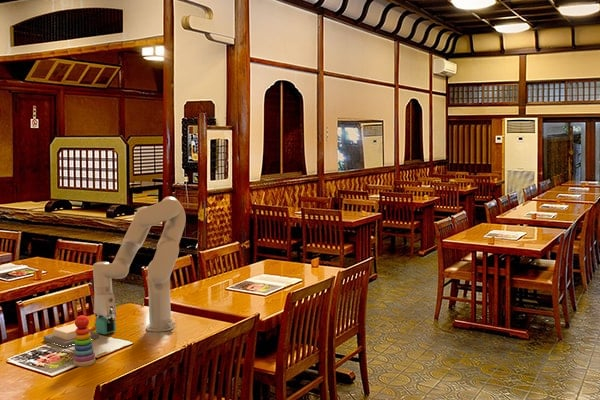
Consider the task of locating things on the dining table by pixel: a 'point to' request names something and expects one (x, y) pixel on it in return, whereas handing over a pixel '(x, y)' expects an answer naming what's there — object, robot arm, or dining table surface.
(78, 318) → the stacking toy
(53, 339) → the stack base
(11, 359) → the dining table surface
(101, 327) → the teal cube
